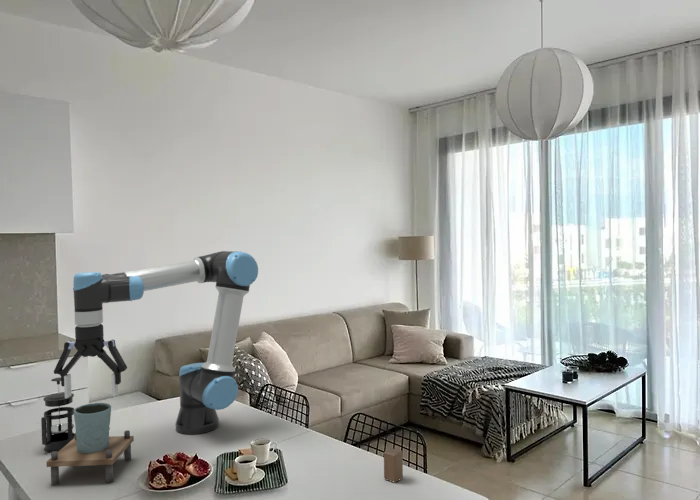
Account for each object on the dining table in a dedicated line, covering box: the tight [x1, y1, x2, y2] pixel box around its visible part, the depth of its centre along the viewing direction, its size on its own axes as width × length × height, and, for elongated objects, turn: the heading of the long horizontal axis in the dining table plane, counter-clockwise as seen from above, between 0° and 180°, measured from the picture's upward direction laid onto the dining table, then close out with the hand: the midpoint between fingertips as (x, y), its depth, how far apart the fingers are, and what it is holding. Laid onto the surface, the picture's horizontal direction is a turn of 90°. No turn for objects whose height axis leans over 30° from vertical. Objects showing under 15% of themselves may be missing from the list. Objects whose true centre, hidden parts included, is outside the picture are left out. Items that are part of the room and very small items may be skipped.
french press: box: [40, 376, 75, 453], centre depth 182 cm, size 12×9×23 cm
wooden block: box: [383, 447, 404, 483], centre depth 155 cm, size 4×4×8 cm
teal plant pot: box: [73, 402, 112, 453], centre depth 163 cm, size 10×10×12 cm
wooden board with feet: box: [45, 430, 135, 486], centre depth 163 cm, size 18×18×9 cm
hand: (91, 396), depth 162 cm, fingers open, 13 cm apart
